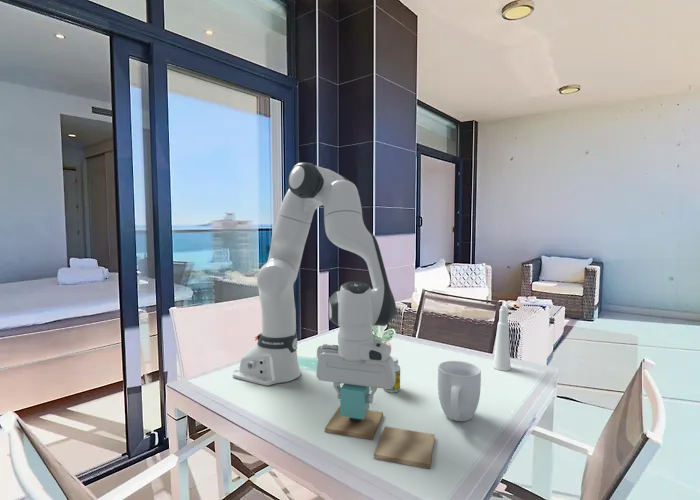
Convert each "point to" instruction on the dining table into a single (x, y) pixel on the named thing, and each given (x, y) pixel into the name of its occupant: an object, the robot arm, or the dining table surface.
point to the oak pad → (405, 447)
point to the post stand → (355, 425)
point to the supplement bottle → (397, 372)
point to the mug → (459, 389)
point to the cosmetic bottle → (502, 342)
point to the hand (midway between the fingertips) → (355, 400)
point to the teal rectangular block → (354, 401)
